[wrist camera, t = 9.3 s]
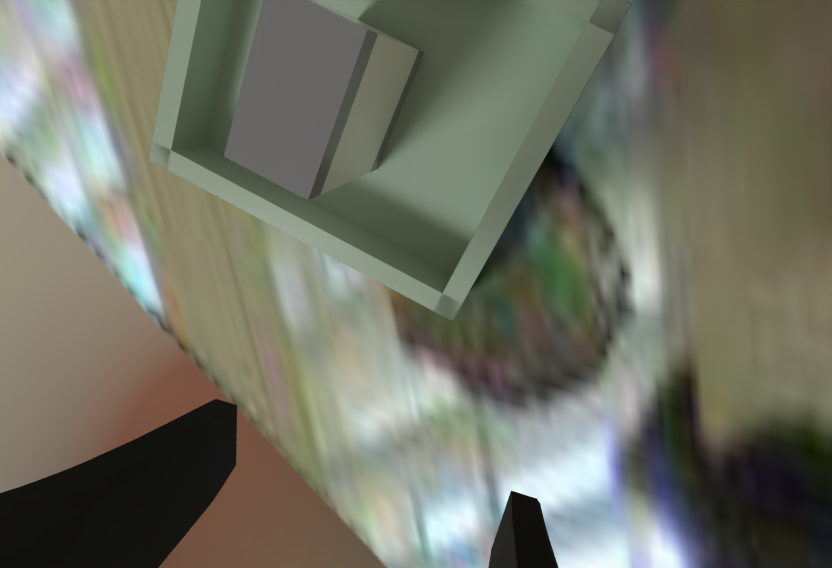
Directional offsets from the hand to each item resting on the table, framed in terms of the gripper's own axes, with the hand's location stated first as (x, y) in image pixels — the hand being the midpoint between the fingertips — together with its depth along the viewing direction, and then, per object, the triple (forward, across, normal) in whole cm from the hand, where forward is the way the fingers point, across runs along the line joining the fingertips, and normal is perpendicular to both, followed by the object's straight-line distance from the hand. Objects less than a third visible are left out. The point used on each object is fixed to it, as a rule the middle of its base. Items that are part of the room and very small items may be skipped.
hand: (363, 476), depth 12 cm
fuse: (+9, +4, -8) cm, 13 cm away
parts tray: (+9, +4, -8) cm, 13 cm away
